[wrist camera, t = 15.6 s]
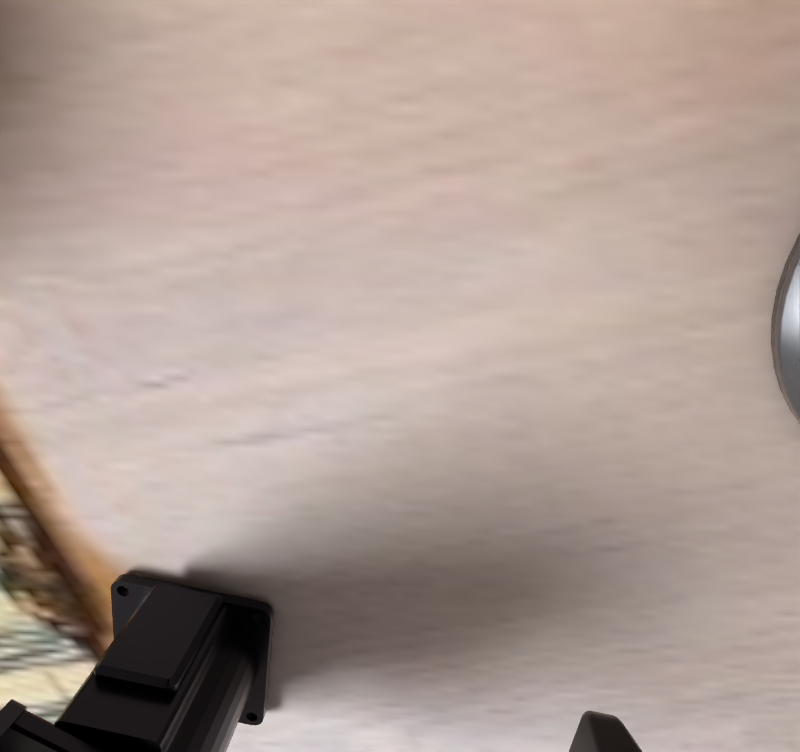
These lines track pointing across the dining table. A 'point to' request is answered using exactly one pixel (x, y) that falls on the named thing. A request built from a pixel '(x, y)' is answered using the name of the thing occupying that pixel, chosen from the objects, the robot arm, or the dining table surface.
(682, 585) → the dining table surface
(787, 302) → the collar
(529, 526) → the dining table surface
